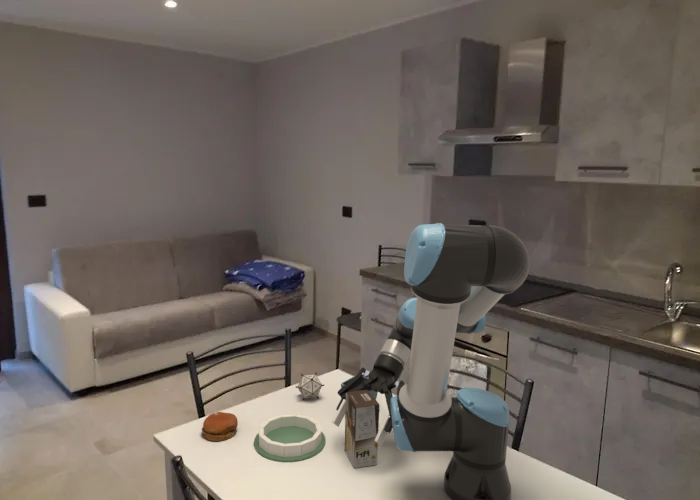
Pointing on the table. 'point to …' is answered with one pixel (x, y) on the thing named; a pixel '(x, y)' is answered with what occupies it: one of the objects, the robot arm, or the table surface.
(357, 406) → the coffee box
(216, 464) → the table surface
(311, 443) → the round green tray
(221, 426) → the burger
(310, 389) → the game die
